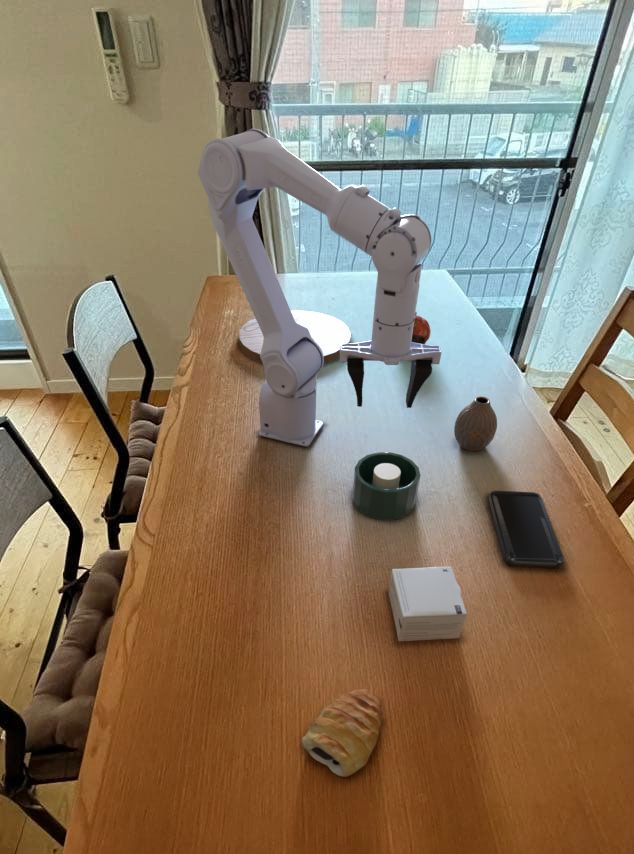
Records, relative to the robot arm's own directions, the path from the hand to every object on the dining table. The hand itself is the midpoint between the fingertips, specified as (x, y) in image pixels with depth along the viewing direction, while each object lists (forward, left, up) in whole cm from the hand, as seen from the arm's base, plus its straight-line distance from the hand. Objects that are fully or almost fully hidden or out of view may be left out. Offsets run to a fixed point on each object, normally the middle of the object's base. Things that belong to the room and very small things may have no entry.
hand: (383, 403), depth 87 cm
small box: (+15, -30, -11) cm, 35 cm away
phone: (+25, -9, -10) cm, 29 cm away
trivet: (-30, +35, -11) cm, 47 cm away
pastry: (+11, -49, -11) cm, 51 cm away
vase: (+14, +10, -11) cm, 20 cm away
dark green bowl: (+4, -10, -10) cm, 15 cm away
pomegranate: (-5, +42, -11) cm, 44 cm away
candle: (+4, -10, -10) cm, 15 cm away
